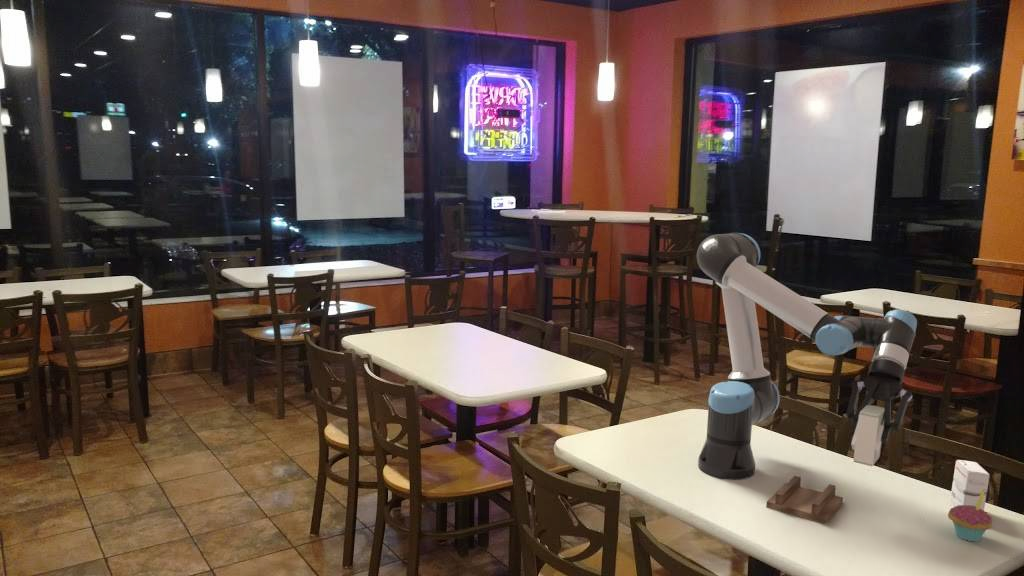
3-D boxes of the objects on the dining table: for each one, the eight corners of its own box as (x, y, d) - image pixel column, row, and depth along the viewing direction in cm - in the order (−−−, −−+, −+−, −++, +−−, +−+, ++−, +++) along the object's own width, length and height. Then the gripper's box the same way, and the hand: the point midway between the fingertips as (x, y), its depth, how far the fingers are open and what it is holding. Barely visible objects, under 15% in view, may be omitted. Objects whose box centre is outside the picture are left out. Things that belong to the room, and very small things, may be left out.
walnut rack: (766, 507, 186) (767, 491, 185) (785, 488, 197) (787, 473, 197) (826, 523, 177) (827, 507, 177) (842, 503, 189) (844, 487, 189)
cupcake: (987, 533, 175) (993, 483, 173) (992, 549, 167) (999, 497, 165) (944, 525, 178) (950, 476, 177) (947, 540, 171) (954, 489, 169)
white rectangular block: (984, 521, 181) (990, 473, 179) (961, 519, 182) (967, 471, 180) (970, 506, 190) (976, 460, 188) (948, 504, 191) (953, 458, 189)
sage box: (853, 461, 176) (859, 412, 174) (861, 452, 183) (867, 404, 181) (872, 466, 174) (878, 416, 172) (879, 456, 180) (886, 408, 178)
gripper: (928, 382, 183) (906, 467, 172) (852, 368, 193) (827, 448, 182) (927, 364, 178) (905, 451, 167) (849, 351, 188) (823, 432, 177)
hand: (864, 449), depth 175 cm, fingers closed on sage box, 4 cm apart
